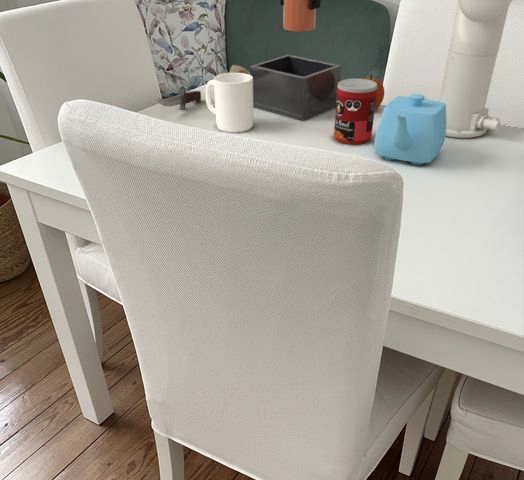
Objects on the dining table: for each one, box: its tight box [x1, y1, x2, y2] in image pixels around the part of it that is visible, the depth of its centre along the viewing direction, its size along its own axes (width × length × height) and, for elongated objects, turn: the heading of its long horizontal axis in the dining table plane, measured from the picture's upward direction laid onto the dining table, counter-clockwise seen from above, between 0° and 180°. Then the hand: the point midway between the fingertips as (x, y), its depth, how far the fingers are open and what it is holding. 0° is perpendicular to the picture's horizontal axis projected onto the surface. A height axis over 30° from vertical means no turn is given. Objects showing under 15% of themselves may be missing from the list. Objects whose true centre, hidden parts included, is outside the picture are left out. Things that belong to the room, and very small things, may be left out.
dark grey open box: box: [249, 54, 342, 122], centre depth 135 cm, size 16×14×9 cm
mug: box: [228, 64, 250, 75], centre depth 143 cm, size 8×10×10 cm
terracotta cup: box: [282, 0, 317, 32], centre depth 120 cm, size 7×7×9 cm
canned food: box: [333, 78, 377, 146], centre depth 117 cm, size 8×8×11 cm
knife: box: [156, 87, 202, 110], centre depth 134 cm, size 17×1×5 cm, turn 152°
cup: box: [205, 72, 255, 133], centre depth 125 cm, size 8×12×10 cm
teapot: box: [373, 93, 447, 166], centre depth 109 cm, size 12×18×12 cm
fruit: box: [364, 73, 385, 110], centre depth 133 cm, size 7×7×8 cm
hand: (299, 5), depth 120 cm, fingers closed on terracotta cup, 6 cm apart
